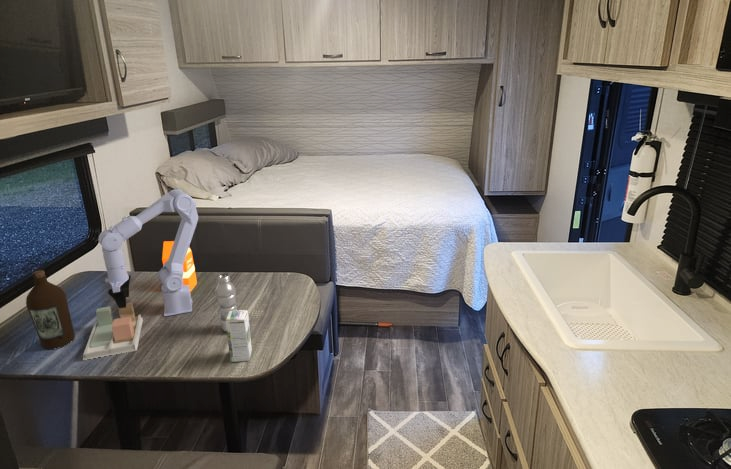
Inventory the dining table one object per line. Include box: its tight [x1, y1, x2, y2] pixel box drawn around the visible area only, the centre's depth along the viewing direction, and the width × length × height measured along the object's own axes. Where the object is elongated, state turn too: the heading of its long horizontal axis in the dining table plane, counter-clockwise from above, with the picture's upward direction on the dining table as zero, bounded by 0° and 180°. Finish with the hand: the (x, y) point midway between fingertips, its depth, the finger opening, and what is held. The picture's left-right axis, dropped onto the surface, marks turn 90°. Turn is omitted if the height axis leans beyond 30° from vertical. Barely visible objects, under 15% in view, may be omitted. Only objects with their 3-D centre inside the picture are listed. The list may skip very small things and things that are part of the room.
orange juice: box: [161, 240, 198, 293], centre depth 186 cm, size 8×9×20 cm
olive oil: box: [25, 269, 76, 350], centre depth 150 cm, size 11×11×25 cm
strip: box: [90, 306, 114, 348], centre depth 155 cm, size 14×6×6 cm, turn 19°
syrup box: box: [225, 309, 253, 363], centre depth 142 cm, size 6×6×14 cm
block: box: [112, 317, 134, 341], centre depth 153 cm, size 5×5×5 cm
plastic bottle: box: [214, 272, 238, 333], centre depth 156 cm, size 6×7×20 cm
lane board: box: [82, 314, 144, 361], centre depth 155 cm, size 20×15×2 cm
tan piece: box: [114, 302, 138, 343], centre depth 157 cm, size 14×6×6 cm, turn 19°
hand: (124, 302), depth 161 cm, fingers open, 7 cm apart
